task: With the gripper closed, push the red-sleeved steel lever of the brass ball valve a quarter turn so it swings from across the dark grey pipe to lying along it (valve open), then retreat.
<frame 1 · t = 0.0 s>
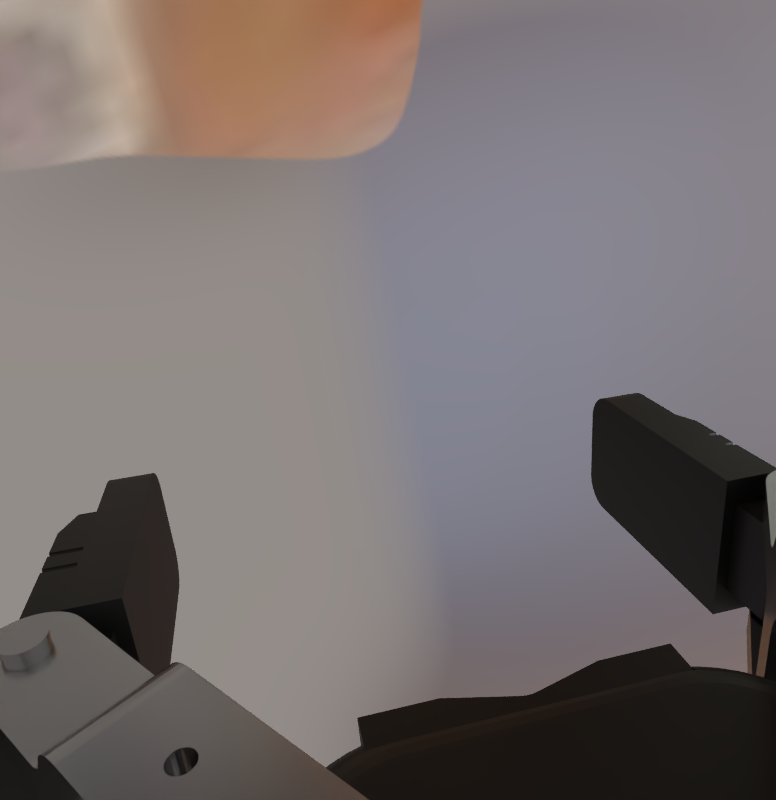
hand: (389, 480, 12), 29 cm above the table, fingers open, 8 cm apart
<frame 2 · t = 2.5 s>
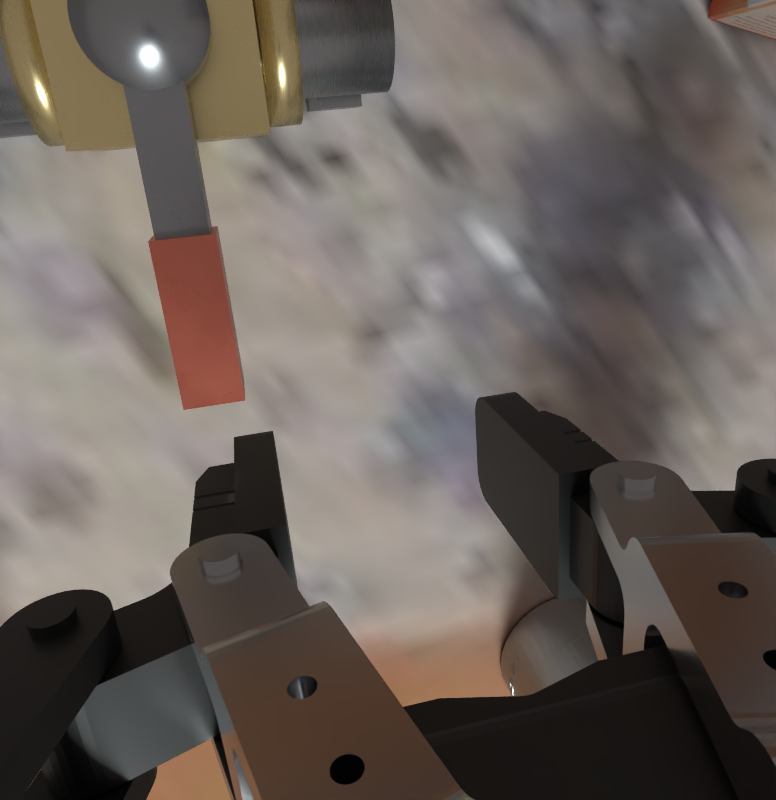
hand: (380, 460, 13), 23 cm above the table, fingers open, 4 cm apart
valve pipe: (170, 59, 30), on the table
lever: (177, 196, 23), point 10 cm above the table, hinge at 90.0°
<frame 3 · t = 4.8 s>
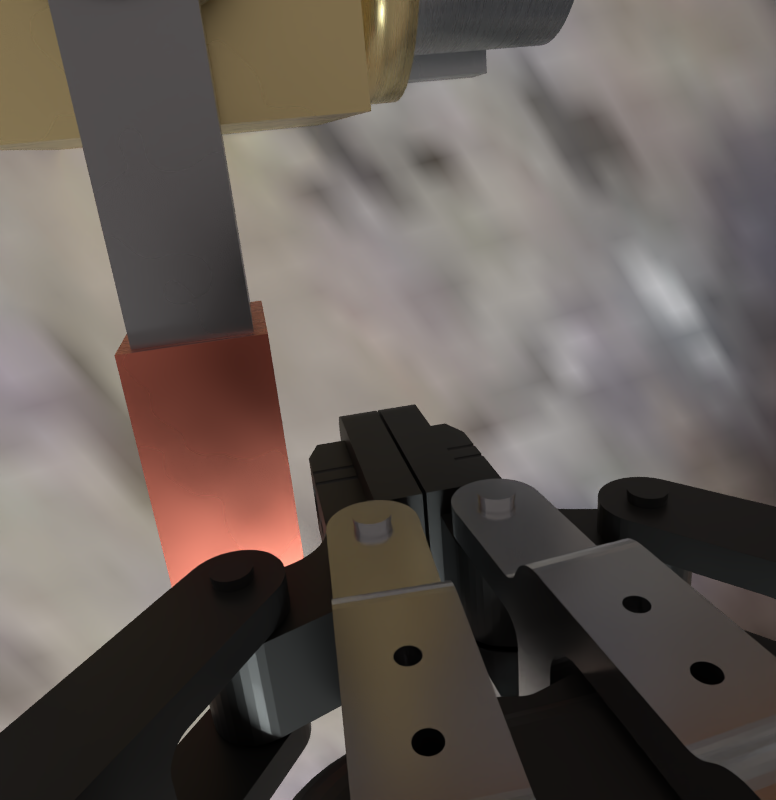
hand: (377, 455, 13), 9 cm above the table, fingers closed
lever: (181, 247, 11), point 10 cm above the table, hinge at 90.0°, touching gripper
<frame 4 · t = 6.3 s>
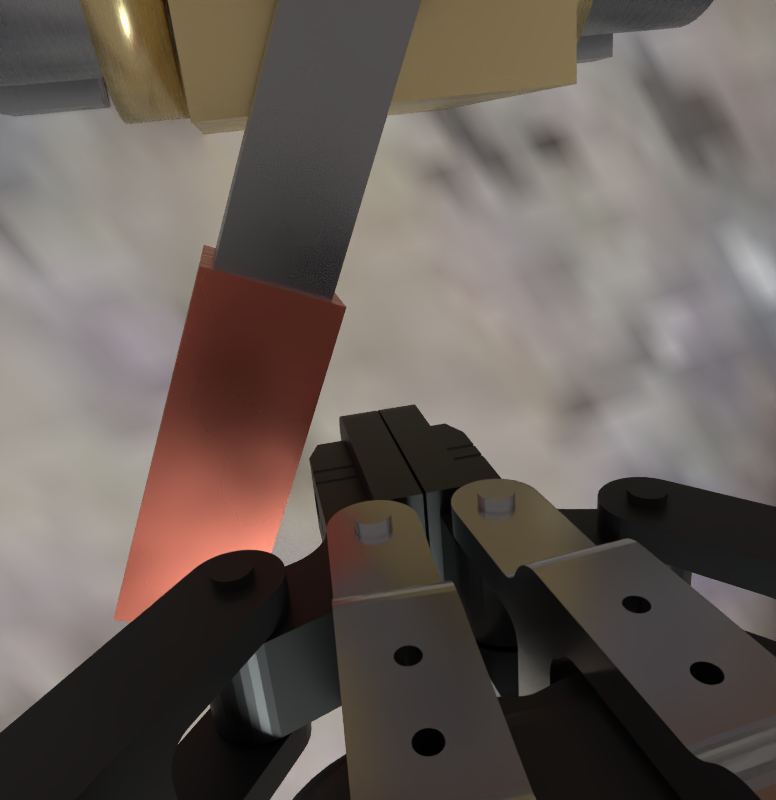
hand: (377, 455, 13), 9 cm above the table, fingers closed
lever: (290, 197, 11), point 10 cm above the table, hinge at 65.8°, touching gripper
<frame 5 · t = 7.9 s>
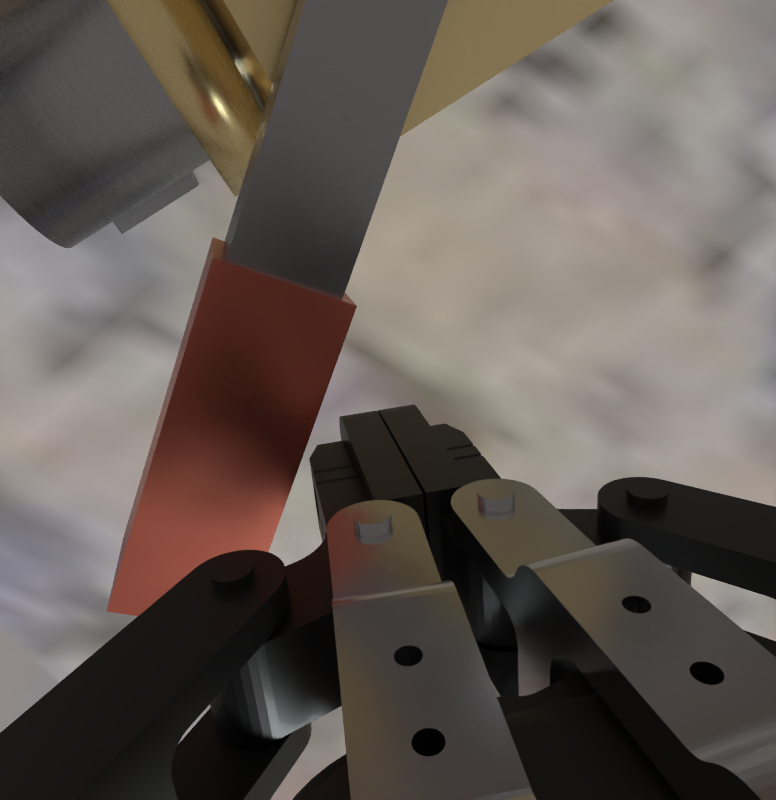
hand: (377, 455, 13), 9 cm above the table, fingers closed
lever: (304, 194, 11), point 10 cm above the table, hinge at 38.7°, touching gripper
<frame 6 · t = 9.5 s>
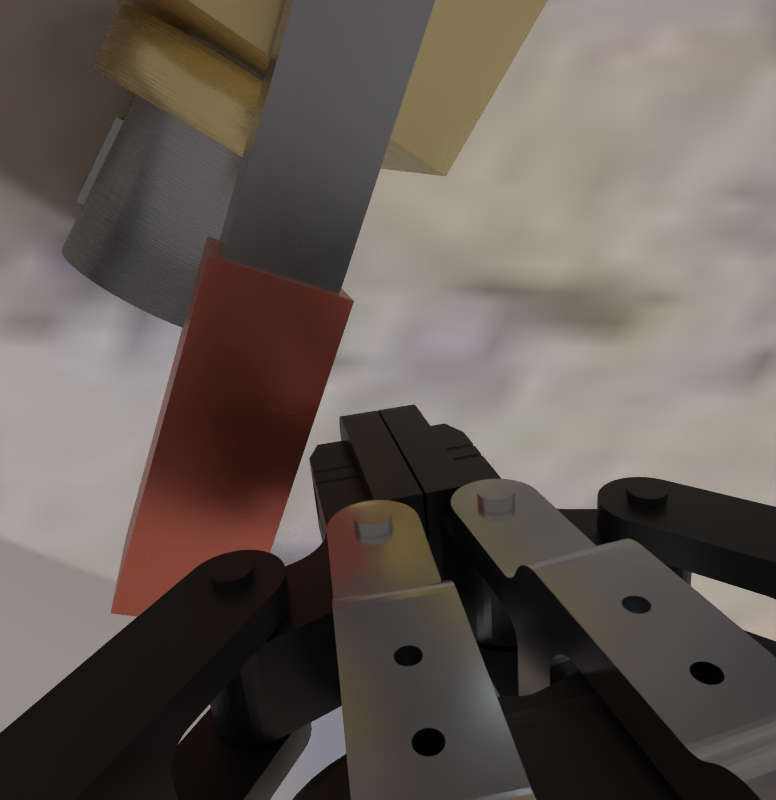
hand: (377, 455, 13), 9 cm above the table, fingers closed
lever: (298, 190, 11), point 10 cm above the table, hinge at 11.7°, touching gripper
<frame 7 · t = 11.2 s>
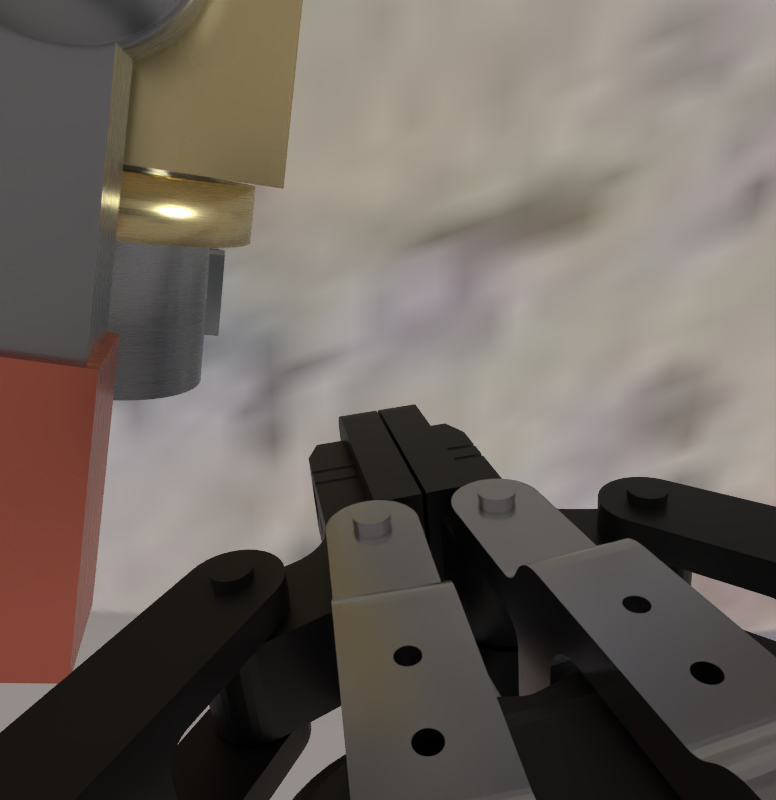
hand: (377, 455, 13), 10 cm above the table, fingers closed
valve pipe: (143, 23, 19), on the table
lever: (45, 266, 11), point 10 cm above the table, hinge at -3.4°
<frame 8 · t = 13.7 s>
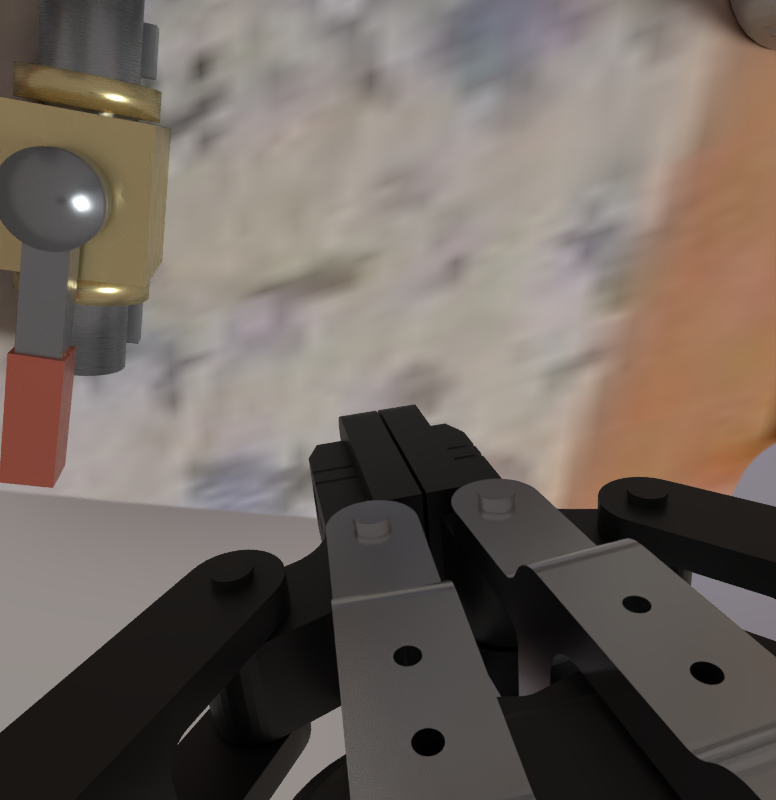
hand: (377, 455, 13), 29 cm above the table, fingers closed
valve pipe: (98, 186, 37), on the table
lever: (45, 322, 29), point 10 cm above the table, hinge at -3.4°
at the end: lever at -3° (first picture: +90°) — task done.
